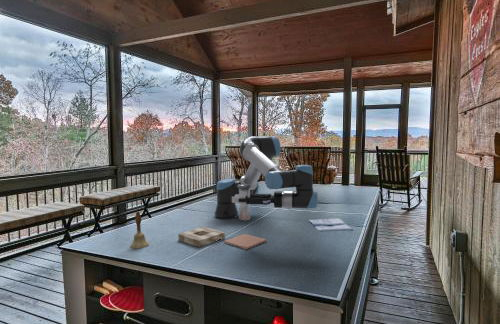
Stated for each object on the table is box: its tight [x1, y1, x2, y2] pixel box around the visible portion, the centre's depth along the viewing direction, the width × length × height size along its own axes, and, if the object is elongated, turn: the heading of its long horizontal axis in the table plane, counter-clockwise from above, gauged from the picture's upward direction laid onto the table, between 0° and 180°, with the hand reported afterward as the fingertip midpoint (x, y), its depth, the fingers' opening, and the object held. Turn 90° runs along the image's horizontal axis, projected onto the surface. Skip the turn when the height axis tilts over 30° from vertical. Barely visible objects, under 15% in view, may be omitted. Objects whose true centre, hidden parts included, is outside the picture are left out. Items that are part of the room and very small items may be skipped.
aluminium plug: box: [237, 184, 251, 221], centre depth 141 cm, size 6×6×16 cm
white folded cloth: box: [308, 217, 353, 232], centre depth 168 cm, size 19×20×2 cm
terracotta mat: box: [223, 233, 267, 250], centre depth 142 cm, size 14×14×1 cm
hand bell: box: [129, 211, 150, 249], centre depth 140 cm, size 8×8×16 cm
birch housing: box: [177, 226, 226, 248], centre depth 148 cm, size 16×16×3 cm
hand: (233, 198), depth 142 cm, fingers closed on aluminium plug, 5 cm apart
